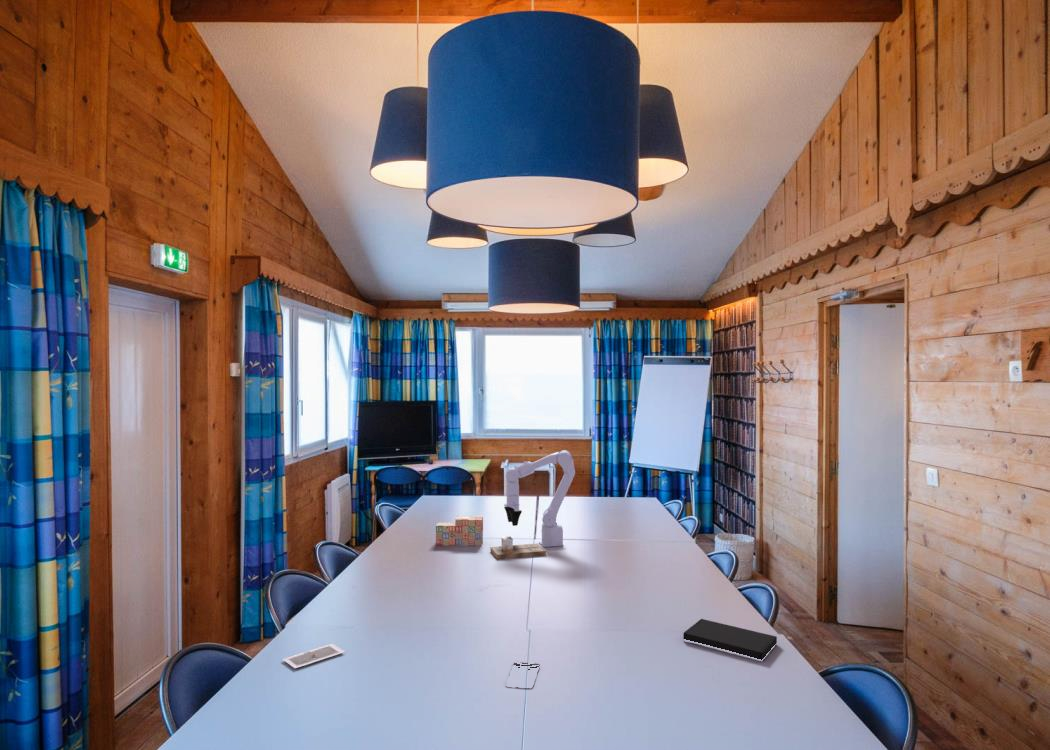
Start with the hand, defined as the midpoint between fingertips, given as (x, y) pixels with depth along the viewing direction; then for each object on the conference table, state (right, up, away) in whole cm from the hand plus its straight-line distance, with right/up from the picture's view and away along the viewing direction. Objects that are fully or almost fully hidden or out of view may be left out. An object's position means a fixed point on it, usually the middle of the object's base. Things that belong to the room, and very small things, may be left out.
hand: (512, 523), depth 305 cm
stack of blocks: (-25, -10, 0) cm, 27 cm away
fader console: (+3, -10, -16) cm, 19 cm away
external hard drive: (+67, -11, -110) cm, 129 cm away
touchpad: (-54, -11, -120) cm, 132 cm away
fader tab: (-2, -7, -17) cm, 19 cm away
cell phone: (+5, -11, -131) cm, 131 cm away
